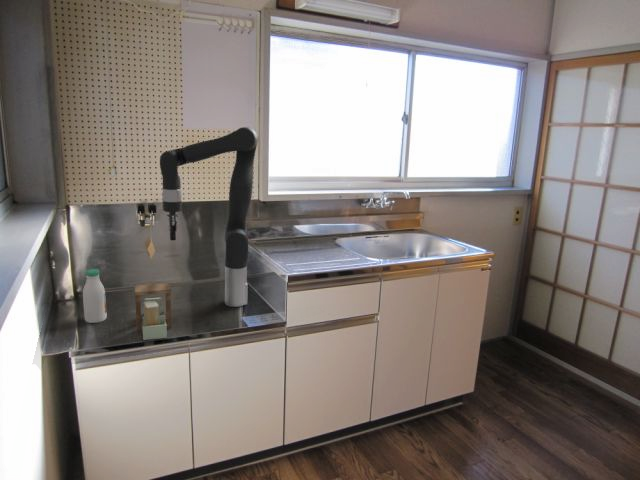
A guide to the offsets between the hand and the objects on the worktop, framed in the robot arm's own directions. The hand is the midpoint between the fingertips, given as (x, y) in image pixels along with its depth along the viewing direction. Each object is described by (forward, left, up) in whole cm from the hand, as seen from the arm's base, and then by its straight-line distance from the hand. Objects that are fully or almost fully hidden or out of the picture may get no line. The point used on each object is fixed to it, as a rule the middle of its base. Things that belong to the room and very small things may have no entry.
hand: (172, 239), depth 194 cm
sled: (+9, +26, -27) cm, 38 cm away
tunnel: (+9, +25, -27) cm, 38 cm away
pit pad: (+9, +16, -27) cm, 33 cm away
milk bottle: (+30, +14, -27) cm, 43 cm away
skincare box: (+10, +32, -27) cm, 43 cm away
